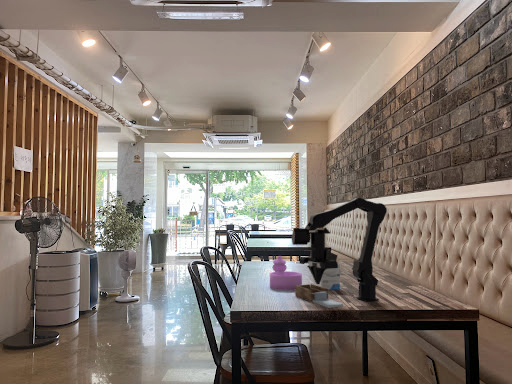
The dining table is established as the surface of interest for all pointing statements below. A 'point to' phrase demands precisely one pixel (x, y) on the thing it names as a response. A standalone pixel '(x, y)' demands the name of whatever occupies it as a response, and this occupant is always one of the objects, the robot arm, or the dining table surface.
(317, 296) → the lid
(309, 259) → the robot arm
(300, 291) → the case
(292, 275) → the container set
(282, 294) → the dining table surface
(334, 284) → the ink box
